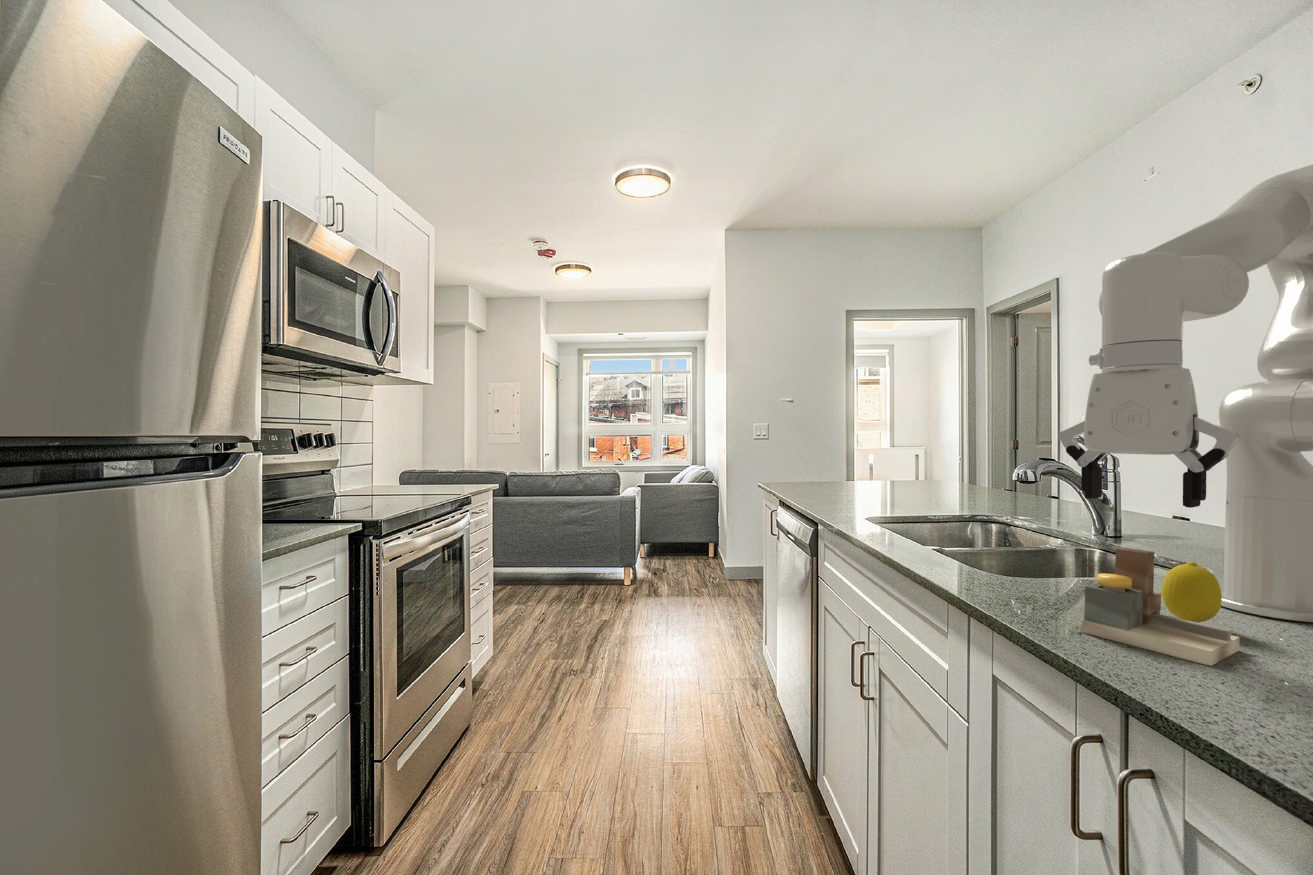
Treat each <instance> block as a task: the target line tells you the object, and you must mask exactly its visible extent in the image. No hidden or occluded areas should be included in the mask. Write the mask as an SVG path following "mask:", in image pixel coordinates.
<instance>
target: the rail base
mask: <svg viewBox="0 0 1313 875" xmlns="http://www.w3.org/2000/svg"><path fill="white" fill-rule="evenodd" d="M1084 590H1085V591H1084V613H1083V615H1084V618H1083V619H1082V621H1081V622H1082V623H1081V633H1083V634H1087V635H1091V636H1095V637H1098V638H1102V639H1107V640H1110V641H1115V642H1119V643H1122V644H1125V645H1129V646H1132V647H1136V648H1140V649H1145V650H1148V651H1153V652H1156V653H1159V654H1163V655H1167V656H1171V657H1175V658H1179V659H1182V660H1186V661H1190V662H1194V663H1198V664H1200V665H1201V664H1202V665H1205V666H1210V667H1211V666H1214V665H1216V664H1217V663H1219V662H1221V661H1224V660H1225V659H1227V658H1228V657H1230V656H1232V655H1233V654H1235V653H1237V652H1239V651H1240V641H1241V640H1240V636H1236V635H1233V634H1232V629H1228V628H1225V627H1219V626H1215V625H1210V624H1206V623H1202V622H1199V623H1197V622H1192V621H1188V620H1183V619H1180V618H1178V617H1174V616H1169V615H1165V614H1161V613H1160V614H1156V613H1152V614H1151V621H1148V622H1147V621H1143V590H1138V589H1132V588H1130V589H1125V592H1123V593H1122V592H1117V591H1112V590H1107V589H1103V585H1100V584H1098V583H1097V582H1096V583H1094V584H1089V585H1085V586H1084Z"/></svg>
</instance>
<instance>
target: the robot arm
mask: <svg viewBox="0 0 1313 875" xmlns="http://www.w3.org/2000/svg"><path fill="white" fill-rule="evenodd" d="M1265 265H1266V266H1267V269H1268V271H1269V275H1270V276H1271V280H1272V282H1273V283H1274V284H1273V285H1274V286H1275V288H1276V290H1277V293H1278V301H1277V302H1278V303H1277V306H1276V309H1275V312H1274V314H1273V317H1272V319H1271V321H1270V324H1269V326H1268V328H1267V331H1266V334H1265V336H1264V339H1263V340H1262V344H1261V346H1260V349H1259V352H1258V355H1257V360H1256V361H1257V362H1256V366H1257V370H1258V373H1259V375H1260V376H1261V377H1262V378H1263V379H1264V380H1266V381H1262V382H1261V381H1260V382H1254V383H1248V384H1246V385H1242V386H1239V387H1237V388H1235V389H1233V390H1232V391H1230V392H1228V393H1227V394H1226V395H1225V396H1224V397H1223V399H1222V400H1221V402H1220V404H1219V409H1218V419H1219V424H1216V423H1213V422H1211V421H1208V420H1205V419H1203V418H1201V417H1199V411H1198V409H1199V408H1198V404H1197V396H1196V390H1195V385H1194V380H1193V377H1192V372H1191V370H1190V369H1189V368H1186V367H1183V365H1184V364H1183V363H1184V360H1183V356H1184V355H1183V352H1184V349H1183V348H1184V342H1183V340H1184V339H1183V338H1184V323H1185V322H1191V321H1197V320H1203V319H1211V318H1215V317H1219V316H1222V315H1224V314H1227V313H1229V312H1232V311H1233V310H1235V308H1237V307H1238V306H1239V305H1241V303H1243V301H1244V299H1246V296H1247V295H1248V290H1249V289H1250V278H1249V275H1248V273H1250V272H1253V271H1255V270H1258V269H1259V268H1261V267H1263V266H1265ZM1101 279H1102V280H1101V281H1102V282H1101V283H1102V284H1101V286H1102V288H1101V292H1100V295H1099V299H1098V309H1099V313H1100V316H1101V347H1100V348H1099V353H1096V354H1094V355H1093V354H1092V355H1090V356H1089V358H1088V363H1089V365H1090V366H1097V367H1099V370H1101V372H1100V373H1093V375H1092V379H1091V383H1090V385H1089V391H1088V397H1087V402H1086V409H1085V419H1084V420H1083V421H1081V422H1079V423H1078V424H1075V425H1073V426H1070V427H1068V428H1067V429H1066V428H1065V429H1064V430H1062V431H1060V432H1059V433H1058V438H1059V441H1060V442H1061V444H1062V446H1063V447H1064V448H1065V452H1066V454H1068V456H1069V457H1071V459H1073V460H1074V461H1075V462H1076V464H1077V466H1078V467H1081V474H1080V475H1081V477H1080V478H1081V483H1080V484H1081V491H1082V492H1084V498H1085V499H1087V500H1092V499H1093V500H1094V499H1099V498H1101V497H1102V496H1103V467H1102V466H1101V465H1100V466H1099V463H1100V461H1102V460H1103V459H1104V458H1105V457H1106V456H1107V455H1108V454H1119V455H1120V454H1123V455H1124V454H1125V455H1150V456H1151V455H1154V456H1155V455H1160V456H1163V455H1164V456H1165V455H1166V456H1167V455H1174V456H1175V457H1177V459H1178V460H1179V461H1180V462H1182V464H1184V465H1185V466H1186V468H1187V470H1186V471H1185V472H1183V473H1182V506H1183V507H1185V508H1196V507H1200V506H1201V503H1202V502H1201V501H1205V500H1206V498H1207V472H1208V471H1210V470H1211V469H1212V468H1214V466H1216V465H1217V464H1219V463H1220V462H1222V461H1223V460H1226V462H1225V463H1226V494H1225V497H1226V498H1225V522H1224V523H1225V524H1224V525H1225V526H1224V528H1225V529H1224V530H1225V531H1224V556H1223V557H1224V558H1223V559H1224V561H1223V563H1224V565H1223V589H1222V588H1220V589H1221V595H1222V601H1221V606H1220V607H1224V608H1227V609H1231V610H1234V611H1238V612H1243V613H1247V614H1252V615H1257V616H1260V617H1267V618H1268V617H1269V618H1273V619H1279V620H1286V621H1287V620H1288V621H1296V622H1303V623H1304V622H1305V623H1313V464H1311V463H1310V462H1309V460H1308V459H1306V457H1305V456H1304V455H1303V454H1302V452H1313V164H1309V165H1307V166H1304V167H1300V168H1295V169H1294V170H1290V171H1287V172H1284V173H1282V174H1277V175H1275V176H1272V177H1269V178H1268V179H1265V180H1263V181H1261V182H1260V183H1258V184H1257V185H1255V186H1254V187H1252V188H1251V189H1250V190H1249V191H1247V192H1246V193H1245V194H1243V195H1242V196H1241V197H1240V198H1238V199H1237V200H1236V201H1235V202H1234V203H1232V204H1231V205H1230V206H1229V207H1227V208H1226V209H1225V210H1224V211H1222V212H1221V213H1220V214H1219V215H1218V216H1216V217H1214V219H1211V220H1210V221H1207V222H1205V223H1202V224H1199V225H1198V226H1195V227H1194V228H1192V229H1190V230H1188V231H1185V232H1183V233H1182V234H1180V235H1178V236H1176V237H1174V238H1172V239H1170V240H1168V241H1166V242H1164V243H1162V244H1160V245H1158V246H1156V247H1152V248H1151V249H1150V250H1147V251H1145V252H1144V253H1138V254H1132V255H1129V256H1128V255H1127V256H1125V257H1124V256H1123V257H1121V258H1118V259H1116V260H1113V261H1112V262H1110V263H1109V264H1108V265H1106V267H1105V268H1104V269H1103V272H1102V278H1101ZM1200 433H1202V434H1205V435H1207V436H1210V437H1212V438H1215V440H1216V442H1215V444H1214V445H1213V447H1212V449H1210V450H1209V451H1207V453H1204V454H1203V455H1202V454H1201V453H1200V452H1199V451H1198V450H1197V448H1198V447H1199V443H1200ZM1082 435H1083V444H1084V447H1085V448H1086V450H1085V449H1084V448H1083V447H1082V446H1081V445H1079V443H1078V440H1077V438H1078V437H1079V436H1082Z"/></svg>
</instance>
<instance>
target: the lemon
mask: <svg viewBox="0 0 1313 875" xmlns="http://www.w3.org/2000/svg"><path fill="white" fill-rule="evenodd" d="M1221 589H1222V588H1221V586H1220V583H1219V581H1218V579H1217V578H1216V576H1215V575H1214V574H1213V573H1212V572H1210V571H1209V570H1208V569H1206V568H1204V567H1203V566H1200V565H1198V564H1197V562H1194V561H1187V562H1186V563H1184V564H1178V565H1177V566H1175V567H1172V568H1171V569H1170V570H1169V571H1167V573H1166V574H1165V576H1164V578H1163V580H1162V585H1161V599H1162V601H1163V604H1164V605H1165V608H1167V610H1168V611H1169V613H1171V614H1172V615H1174V616H1175V617H1176V618H1179V619H1183V620H1188V621H1192V622H1197V623H1202V622H1207V621H1209V620H1211V619H1213V618H1214V617H1216V615H1217V614H1218V613H1219V611H1220V609H1221V607H1222V606H1221V601H1222V595H1221Z"/></svg>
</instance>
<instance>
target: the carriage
mask: <svg viewBox="0 0 1313 875" xmlns="http://www.w3.org/2000/svg"><path fill="white" fill-rule="evenodd" d="M1114 566H1115V567H1114V574H1116V575H1122V576H1126V577H1130V578H1132V589H1138V590H1143V621H1147V622H1148V621H1151V614H1152V613H1156V614H1160V615H1161V610H1162V592H1161V593H1160V592H1155V591H1154V586H1155V585H1154V584H1155V583H1154V580H1155V578H1154V577H1155V551H1152V550H1146V549H1140V548H1139V549H1138V548H1131V547H1126V546H1125V547H1124V546H1122V547H1119V548H1118V547H1117V548H1115V564H1114Z"/></svg>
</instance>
